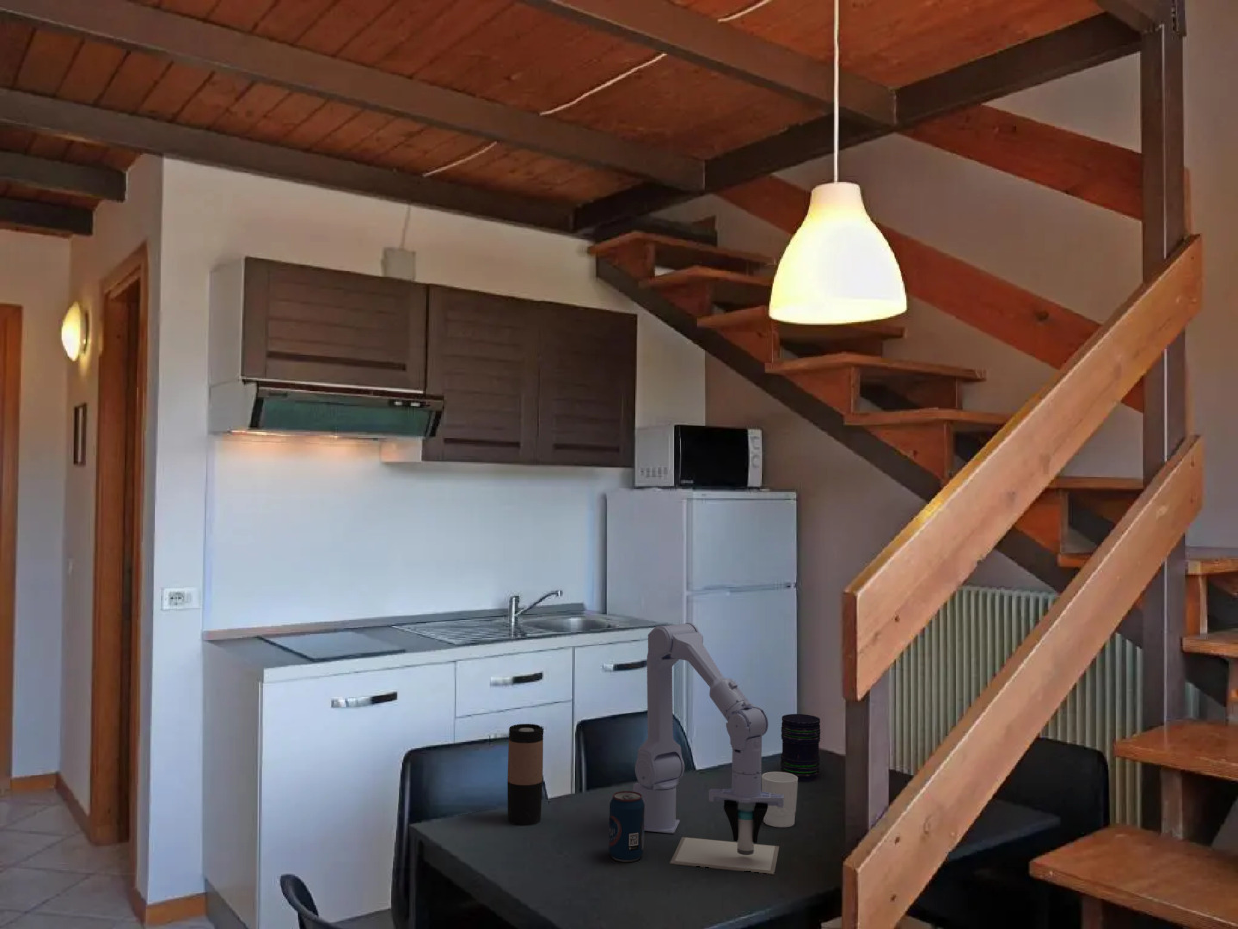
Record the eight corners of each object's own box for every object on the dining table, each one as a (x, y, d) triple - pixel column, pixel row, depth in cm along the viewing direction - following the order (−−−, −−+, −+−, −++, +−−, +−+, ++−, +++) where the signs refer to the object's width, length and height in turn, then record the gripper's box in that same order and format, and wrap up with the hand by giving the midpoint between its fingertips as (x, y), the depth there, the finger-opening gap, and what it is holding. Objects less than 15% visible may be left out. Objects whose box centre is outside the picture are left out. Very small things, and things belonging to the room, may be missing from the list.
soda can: (603, 852, 198) (604, 792, 199) (635, 848, 201) (636, 788, 201) (616, 865, 192) (618, 802, 192) (649, 860, 195) (650, 798, 195)
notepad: (669, 864, 193) (669, 861, 193) (682, 838, 208) (682, 836, 208) (774, 874, 189) (774, 872, 189) (779, 847, 203) (779, 845, 203)
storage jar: (780, 781, 250) (781, 721, 250) (780, 770, 260) (781, 713, 260) (820, 784, 248) (821, 723, 249) (819, 773, 258) (820, 715, 258)
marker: (736, 854, 194) (736, 813, 194) (737, 848, 197) (738, 807, 198) (753, 856, 193) (753, 814, 194) (754, 850, 197) (755, 809, 197)
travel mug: (500, 823, 215) (502, 729, 215) (516, 812, 222) (518, 722, 222) (531, 828, 212) (533, 733, 212) (547, 817, 219) (549, 726, 220)
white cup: (796, 830, 214) (797, 783, 214) (759, 827, 216) (760, 780, 216) (797, 818, 222) (798, 773, 222) (761, 815, 223) (762, 770, 224)
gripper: (707, 773, 194) (706, 844, 193) (782, 779, 190) (781, 851, 190) (711, 763, 200) (710, 832, 200) (784, 769, 197) (783, 838, 197)
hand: (745, 840), depth 195 cm, fingers closed on marker, 3 cm apart
